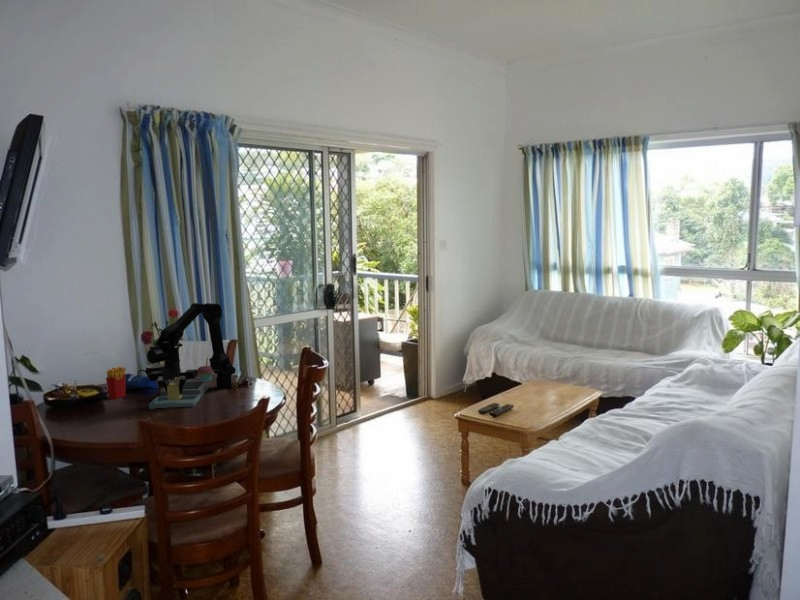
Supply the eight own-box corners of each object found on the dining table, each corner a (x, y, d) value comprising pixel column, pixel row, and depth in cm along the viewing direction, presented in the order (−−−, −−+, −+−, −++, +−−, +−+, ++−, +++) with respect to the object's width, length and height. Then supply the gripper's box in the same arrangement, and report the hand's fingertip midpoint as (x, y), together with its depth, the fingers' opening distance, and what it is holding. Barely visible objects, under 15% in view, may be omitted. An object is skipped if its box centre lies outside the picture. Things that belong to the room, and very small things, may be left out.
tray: (200, 399, 272) (200, 394, 272) (193, 407, 260) (193, 402, 260) (157, 401, 271) (157, 396, 270) (148, 409, 259) (148, 404, 259)
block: (181, 396, 268) (180, 383, 267) (179, 399, 263) (178, 385, 262) (171, 397, 267) (169, 383, 266) (168, 400, 263) (166, 386, 262)
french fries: (112, 400, 274) (110, 370, 272) (105, 399, 276) (103, 370, 274) (129, 394, 282) (127, 366, 281) (122, 393, 284) (120, 365, 282)
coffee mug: (170, 384, 298) (168, 363, 297) (161, 389, 290) (159, 368, 289) (146, 384, 300) (144, 363, 298) (137, 389, 291) (135, 368, 290)
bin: (209, 387, 291) (208, 379, 291) (200, 397, 274) (200, 389, 274) (171, 388, 290) (170, 381, 290) (160, 399, 273) (159, 391, 273)
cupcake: (218, 379, 306) (217, 354, 305) (206, 383, 299) (205, 358, 297) (204, 377, 310) (203, 353, 308) (192, 381, 302) (190, 357, 301)
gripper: (142, 363, 254) (145, 401, 256) (190, 361, 256) (192, 399, 258) (151, 358, 265) (154, 394, 267) (196, 356, 267) (199, 392, 269)
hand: (174, 395), depth 265 cm, fingers closed on block, 4 cm apart
